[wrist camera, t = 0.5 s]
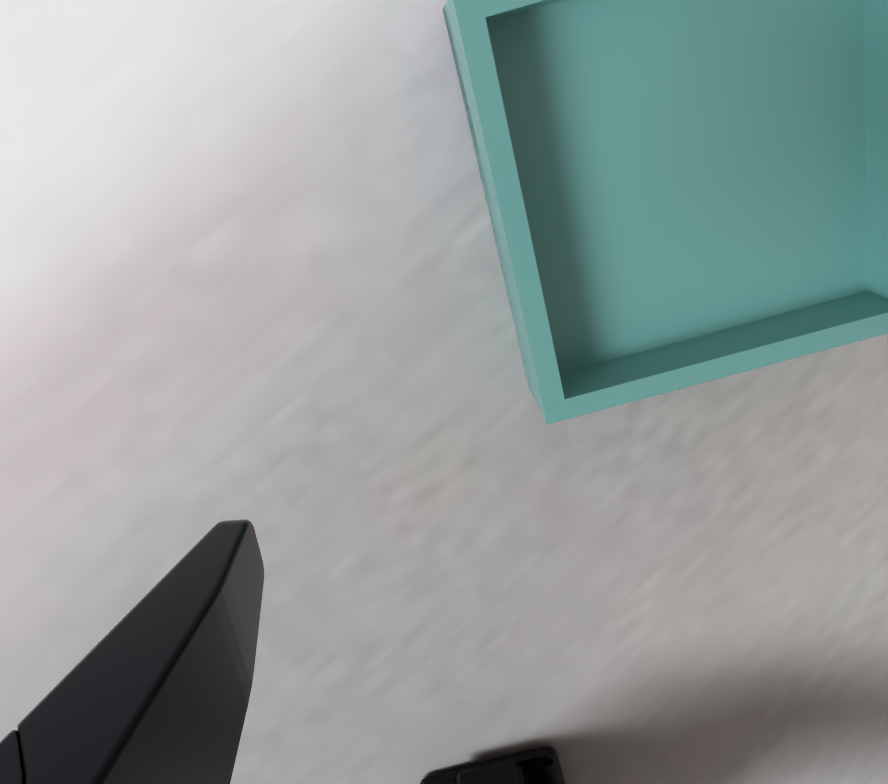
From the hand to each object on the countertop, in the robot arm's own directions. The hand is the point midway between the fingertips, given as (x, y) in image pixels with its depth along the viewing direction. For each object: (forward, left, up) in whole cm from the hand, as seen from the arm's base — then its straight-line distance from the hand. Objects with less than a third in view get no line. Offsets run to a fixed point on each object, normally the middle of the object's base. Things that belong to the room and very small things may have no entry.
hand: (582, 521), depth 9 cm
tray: (+1, -7, -15) cm, 17 cm away
